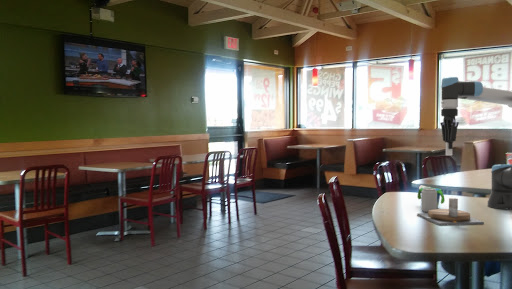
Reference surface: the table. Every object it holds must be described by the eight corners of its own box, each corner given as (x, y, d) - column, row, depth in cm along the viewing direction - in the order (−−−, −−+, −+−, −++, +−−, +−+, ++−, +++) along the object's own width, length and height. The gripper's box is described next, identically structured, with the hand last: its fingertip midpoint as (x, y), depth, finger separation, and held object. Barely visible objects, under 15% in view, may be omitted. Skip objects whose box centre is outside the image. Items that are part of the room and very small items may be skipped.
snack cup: (449, 209, 223) (449, 190, 223) (434, 210, 219) (434, 191, 219) (427, 204, 238) (427, 186, 237) (412, 205, 234) (412, 187, 233)
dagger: (442, 200, 242) (431, 186, 269) (434, 192, 242) (424, 179, 269) (431, 209, 244) (421, 193, 271) (424, 201, 244) (414, 187, 271)
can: (438, 213, 214) (438, 189, 213) (422, 212, 215) (422, 189, 215) (435, 210, 221) (435, 187, 220) (420, 209, 222) (420, 187, 222)
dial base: (457, 214, 210) (457, 211, 210) (483, 224, 190) (483, 221, 189) (417, 215, 209) (417, 212, 209) (439, 225, 188) (439, 222, 188)
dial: (425, 212, 210) (425, 192, 209) (464, 213, 206) (464, 193, 205) (432, 220, 191) (433, 198, 191) (475, 222, 188) (476, 200, 187)
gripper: (435, 108, 216) (435, 154, 217) (449, 107, 203) (448, 156, 204) (449, 108, 217) (449, 154, 218) (464, 107, 204) (463, 156, 205)
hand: (448, 155), depth 211 cm, fingers closed
